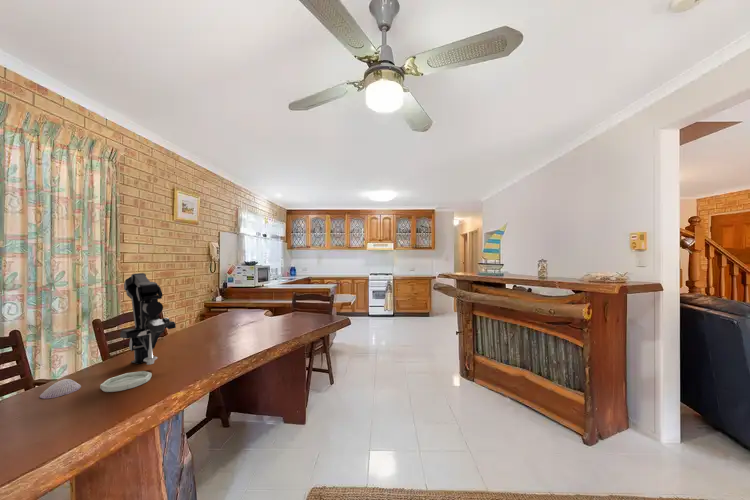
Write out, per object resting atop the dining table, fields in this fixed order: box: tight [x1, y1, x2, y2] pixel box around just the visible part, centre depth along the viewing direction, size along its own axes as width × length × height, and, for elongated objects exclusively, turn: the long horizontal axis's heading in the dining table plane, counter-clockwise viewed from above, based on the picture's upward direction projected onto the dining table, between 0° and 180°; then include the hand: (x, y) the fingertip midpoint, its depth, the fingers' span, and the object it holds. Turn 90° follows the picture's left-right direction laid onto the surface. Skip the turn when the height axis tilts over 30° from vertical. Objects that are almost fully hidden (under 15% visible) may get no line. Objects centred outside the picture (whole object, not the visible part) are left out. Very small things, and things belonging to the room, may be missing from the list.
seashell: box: [39, 378, 82, 400], centre depth 110 cm, size 10×6×10 cm
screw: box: [143, 333, 158, 366], centre depth 130 cm, size 13×5×5 cm
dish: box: [99, 370, 153, 393], centre depth 116 cm, size 14×14×2 cm
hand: (150, 349), depth 130 cm, fingers closed on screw, 2 cm apart
